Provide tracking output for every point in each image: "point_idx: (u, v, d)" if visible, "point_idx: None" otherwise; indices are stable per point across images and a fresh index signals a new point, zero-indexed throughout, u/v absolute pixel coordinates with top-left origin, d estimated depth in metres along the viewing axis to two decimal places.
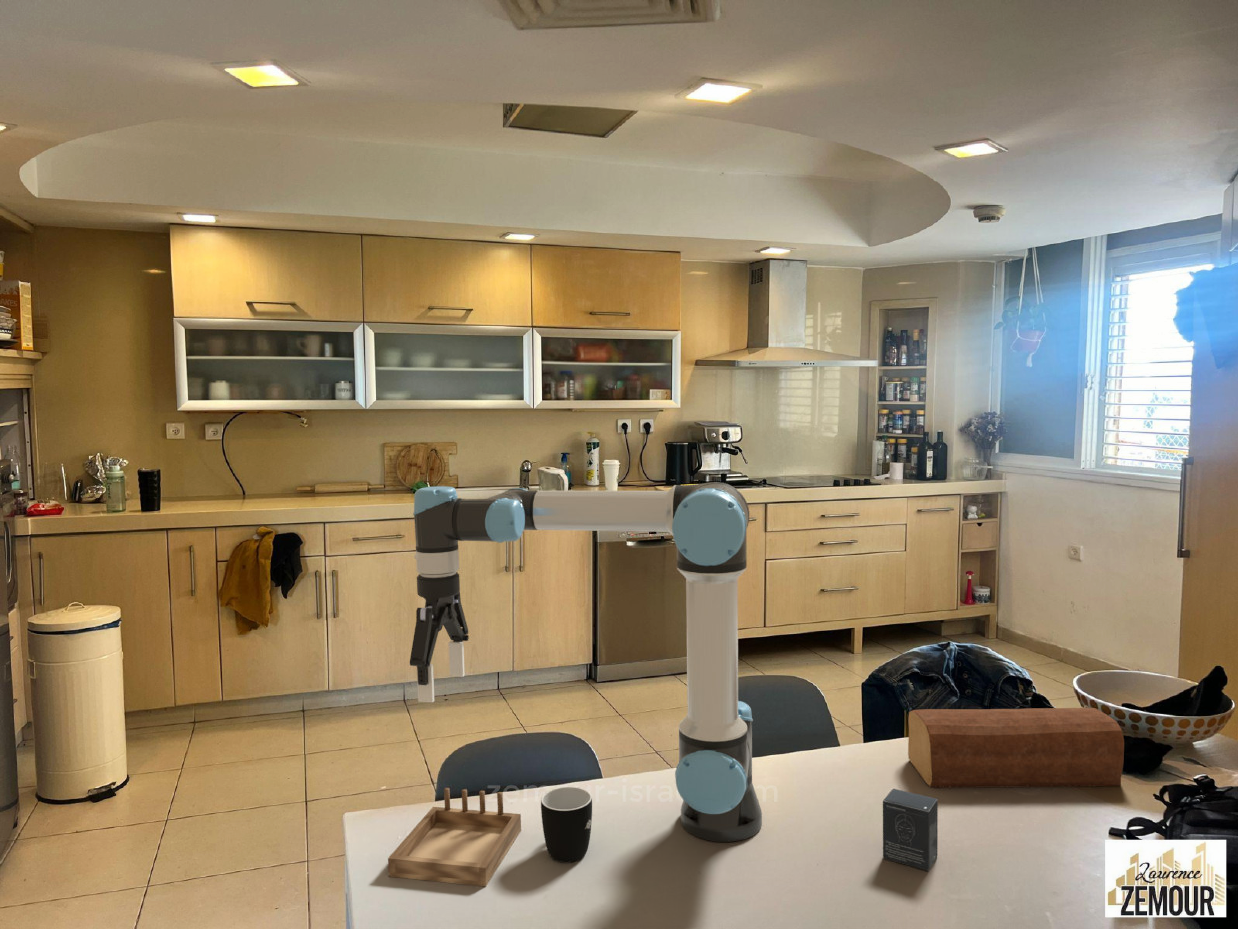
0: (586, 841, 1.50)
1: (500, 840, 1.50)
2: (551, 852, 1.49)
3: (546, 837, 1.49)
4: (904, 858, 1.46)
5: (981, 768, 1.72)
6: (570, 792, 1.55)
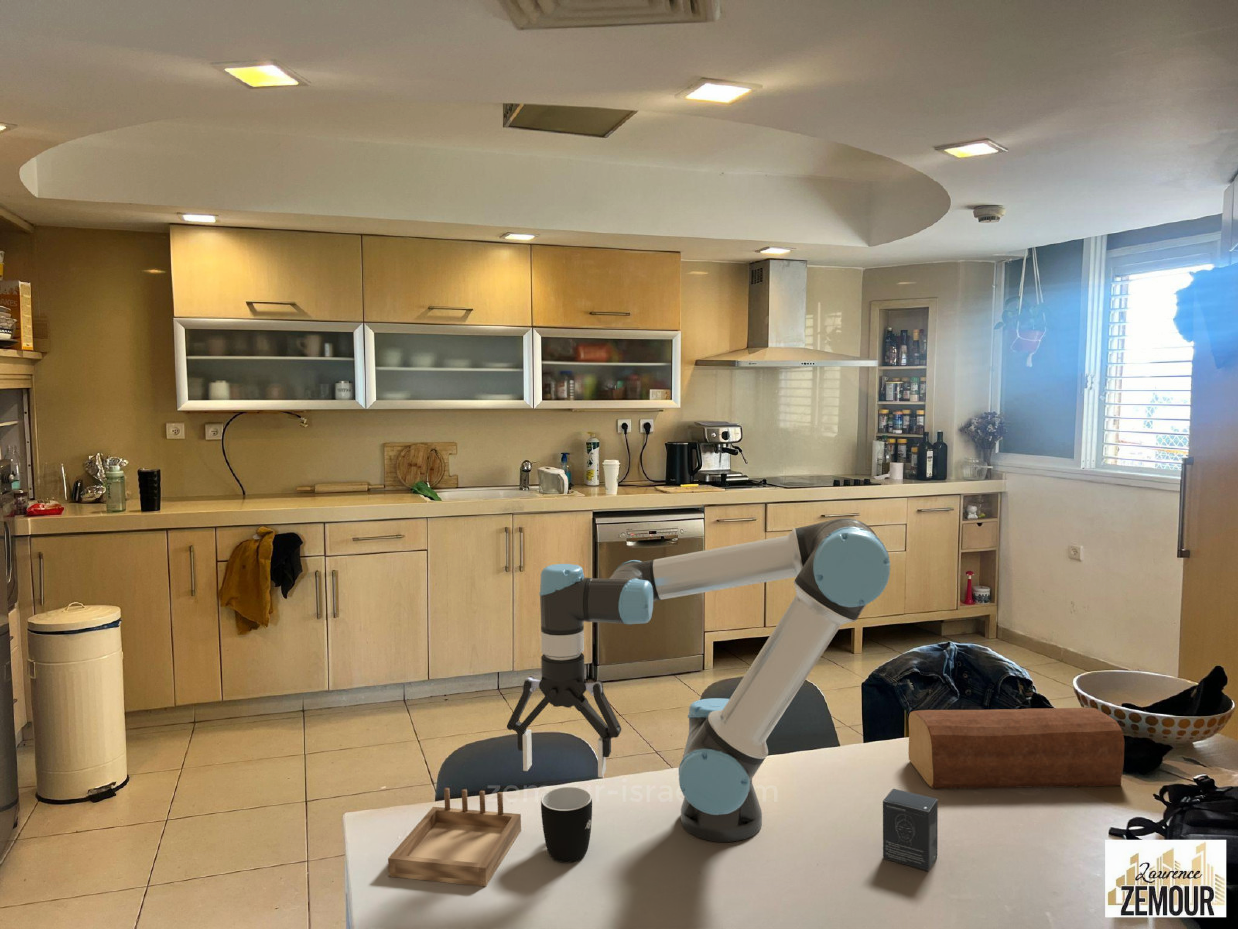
0: (586, 841, 1.50)
1: (500, 840, 1.50)
2: (551, 852, 1.49)
3: (546, 837, 1.49)
4: (904, 858, 1.46)
5: (982, 769, 1.72)
6: (570, 792, 1.55)
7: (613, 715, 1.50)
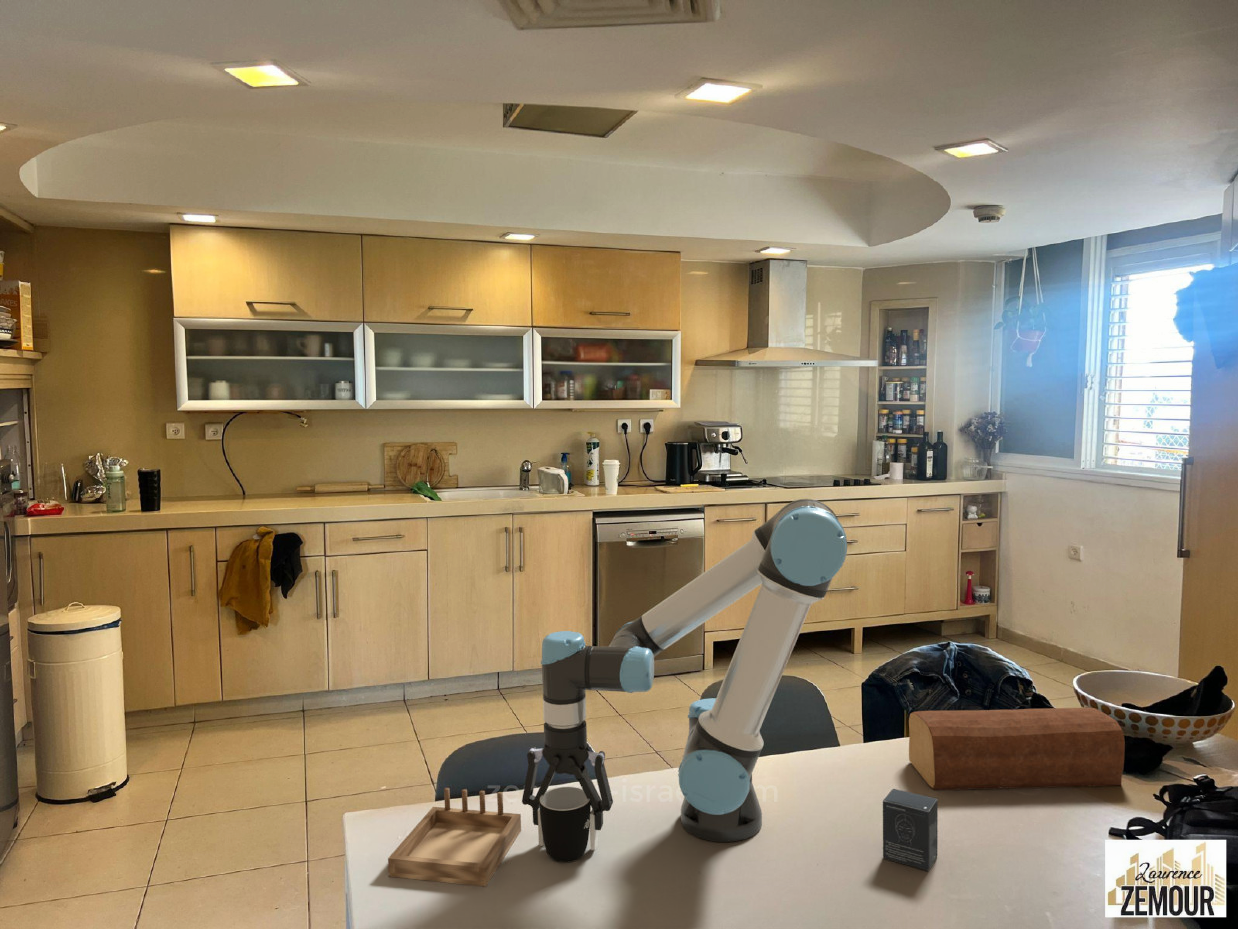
0: (585, 841, 1.50)
1: (500, 840, 1.50)
2: (550, 852, 1.49)
3: (545, 837, 1.49)
4: (904, 858, 1.46)
5: (984, 769, 1.72)
6: (569, 792, 1.55)
7: (608, 788, 1.51)
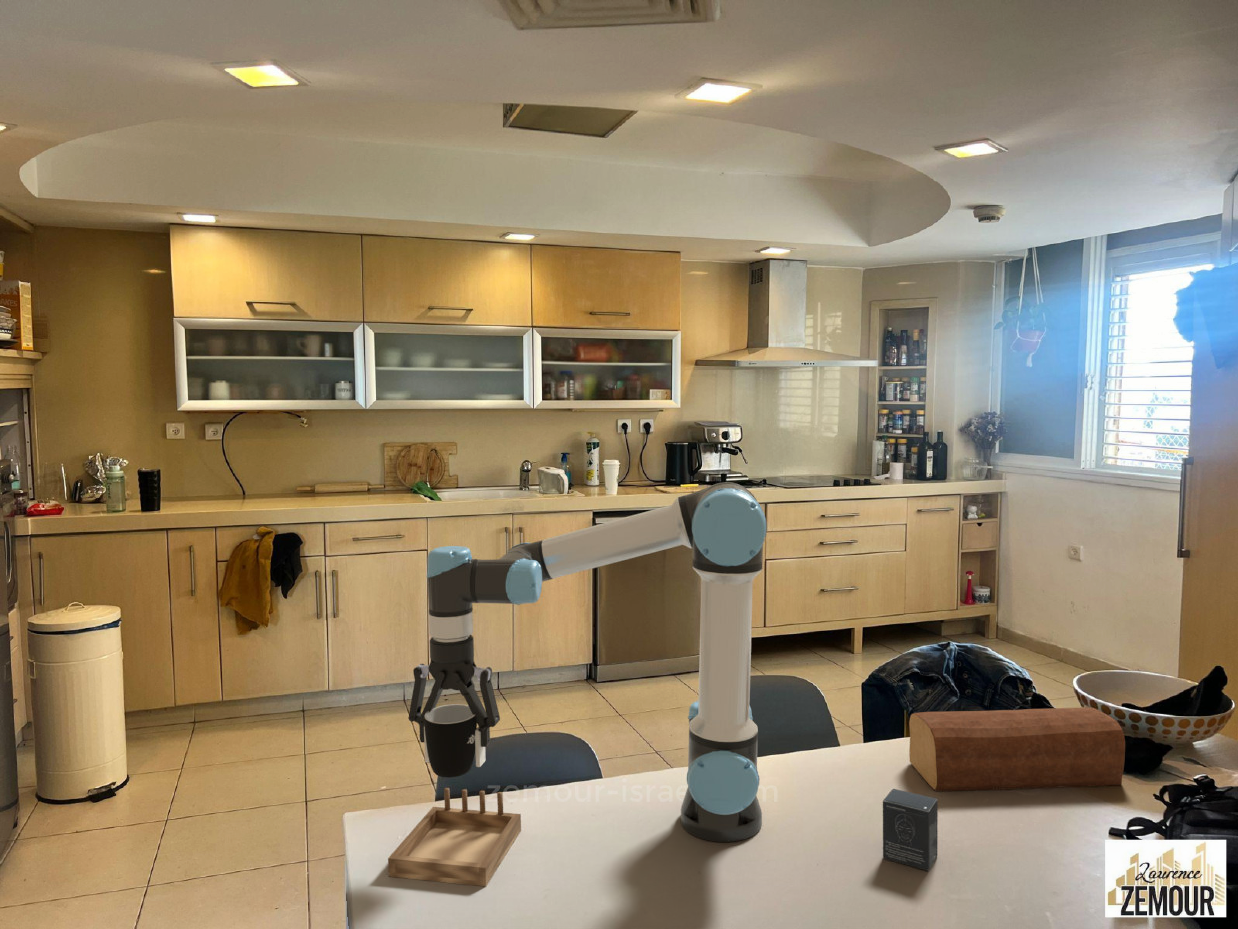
0: (469, 756, 1.48)
1: (500, 840, 1.50)
2: (433, 767, 1.47)
3: (428, 752, 1.48)
4: (904, 858, 1.46)
5: (985, 770, 1.71)
6: (457, 710, 1.53)
7: (495, 704, 1.50)
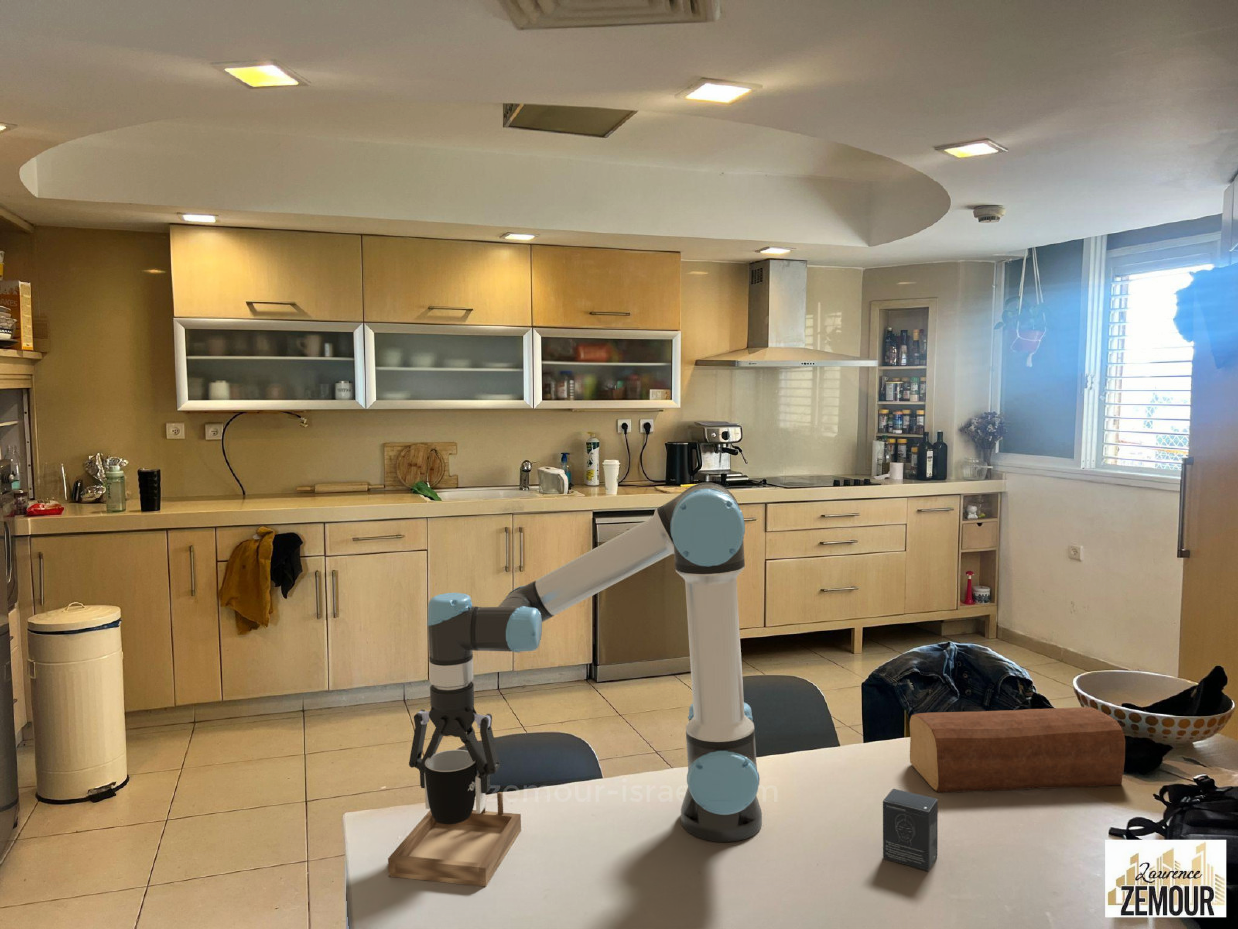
0: (469, 803, 1.49)
1: (500, 840, 1.50)
2: (433, 814, 1.48)
3: (429, 799, 1.48)
4: (904, 858, 1.46)
5: (987, 771, 1.71)
6: (457, 755, 1.54)
7: (495, 751, 1.50)
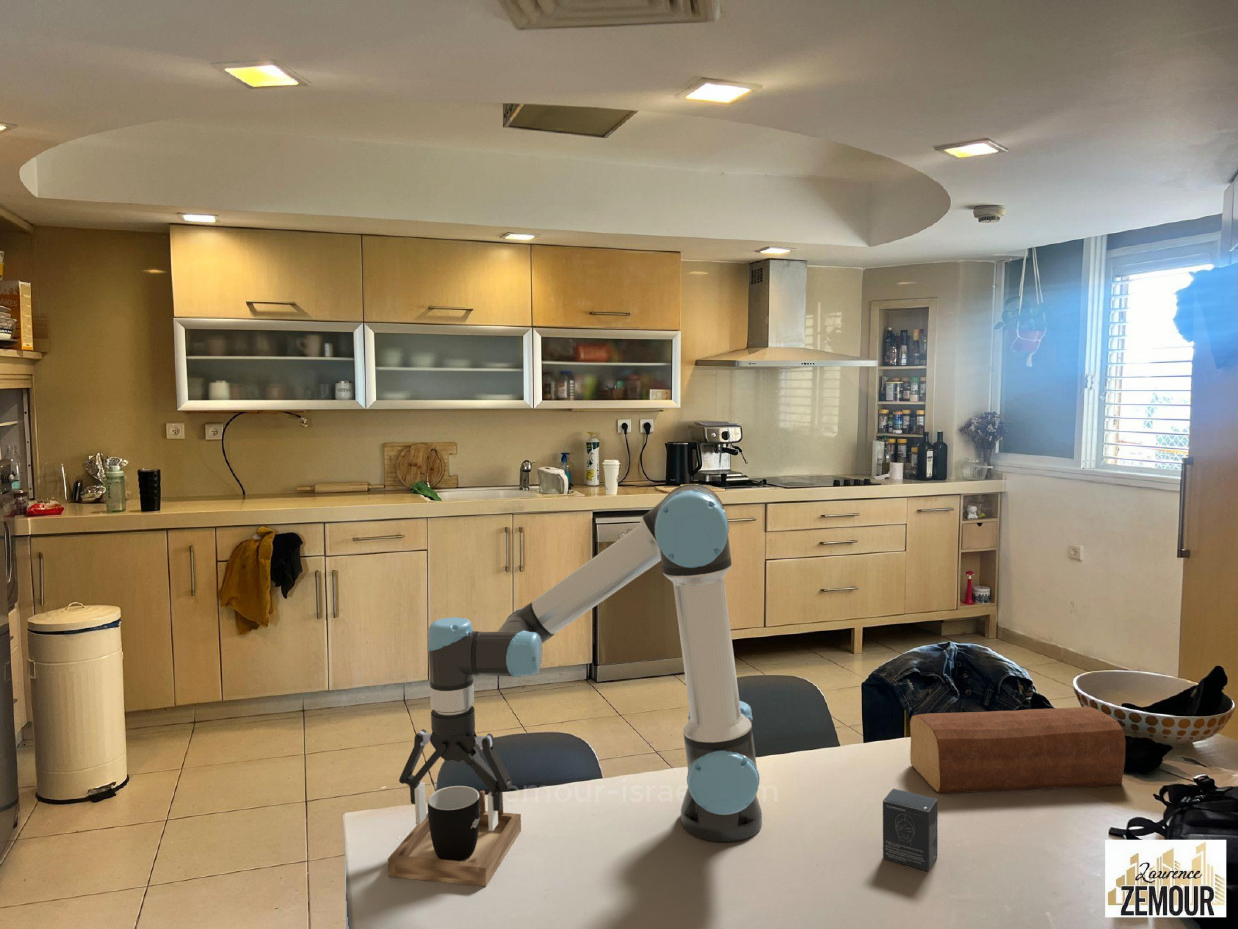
0: (473, 840, 1.49)
1: (500, 840, 1.50)
2: (437, 852, 1.48)
3: (432, 837, 1.49)
4: (904, 858, 1.46)
5: (988, 772, 1.70)
6: (460, 791, 1.54)
7: (503, 769, 1.50)
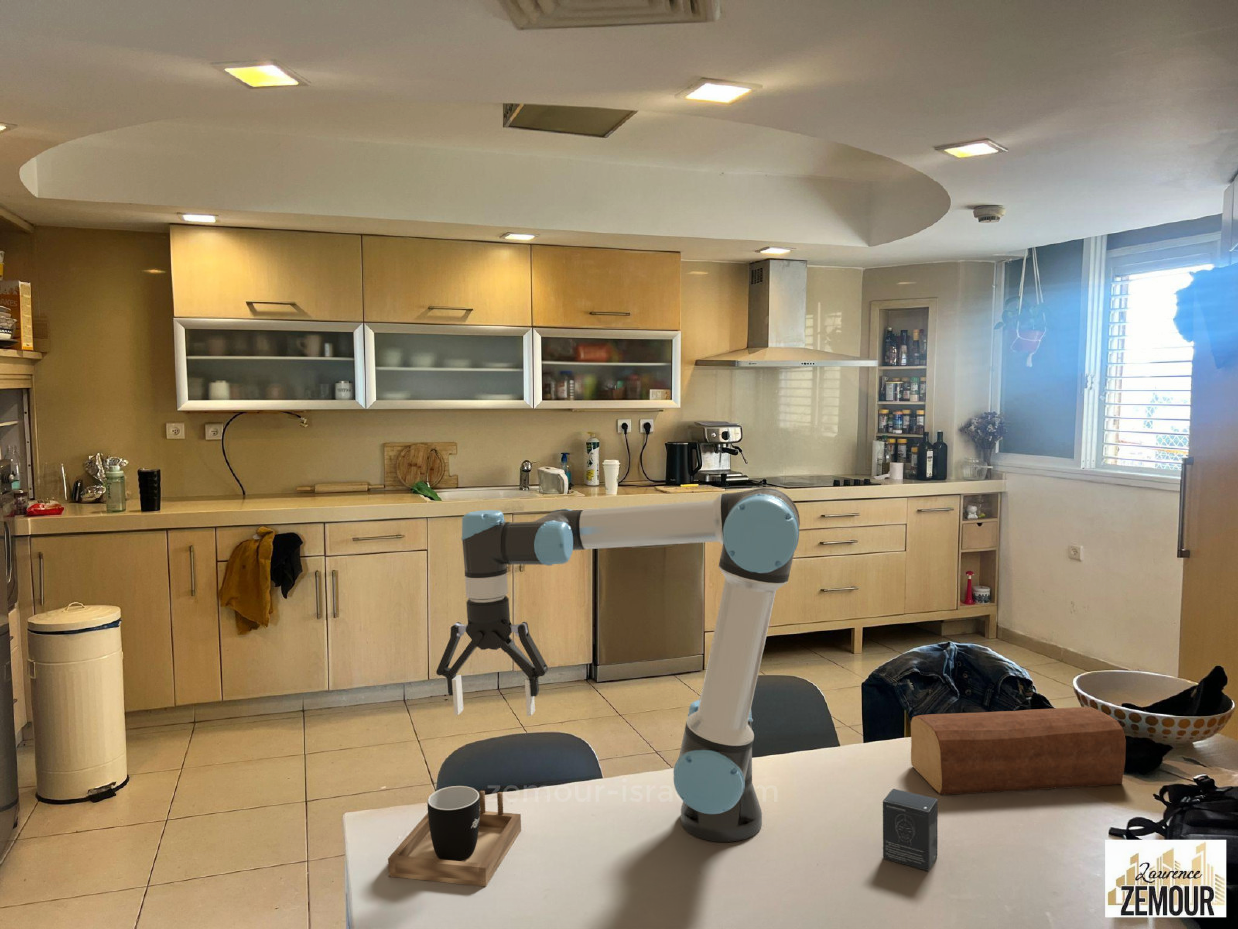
0: (473, 840, 1.49)
1: (500, 840, 1.50)
2: (437, 852, 1.48)
3: (432, 837, 1.49)
4: (904, 858, 1.46)
5: (990, 773, 1.70)
6: (460, 791, 1.54)
7: (539, 655, 1.54)
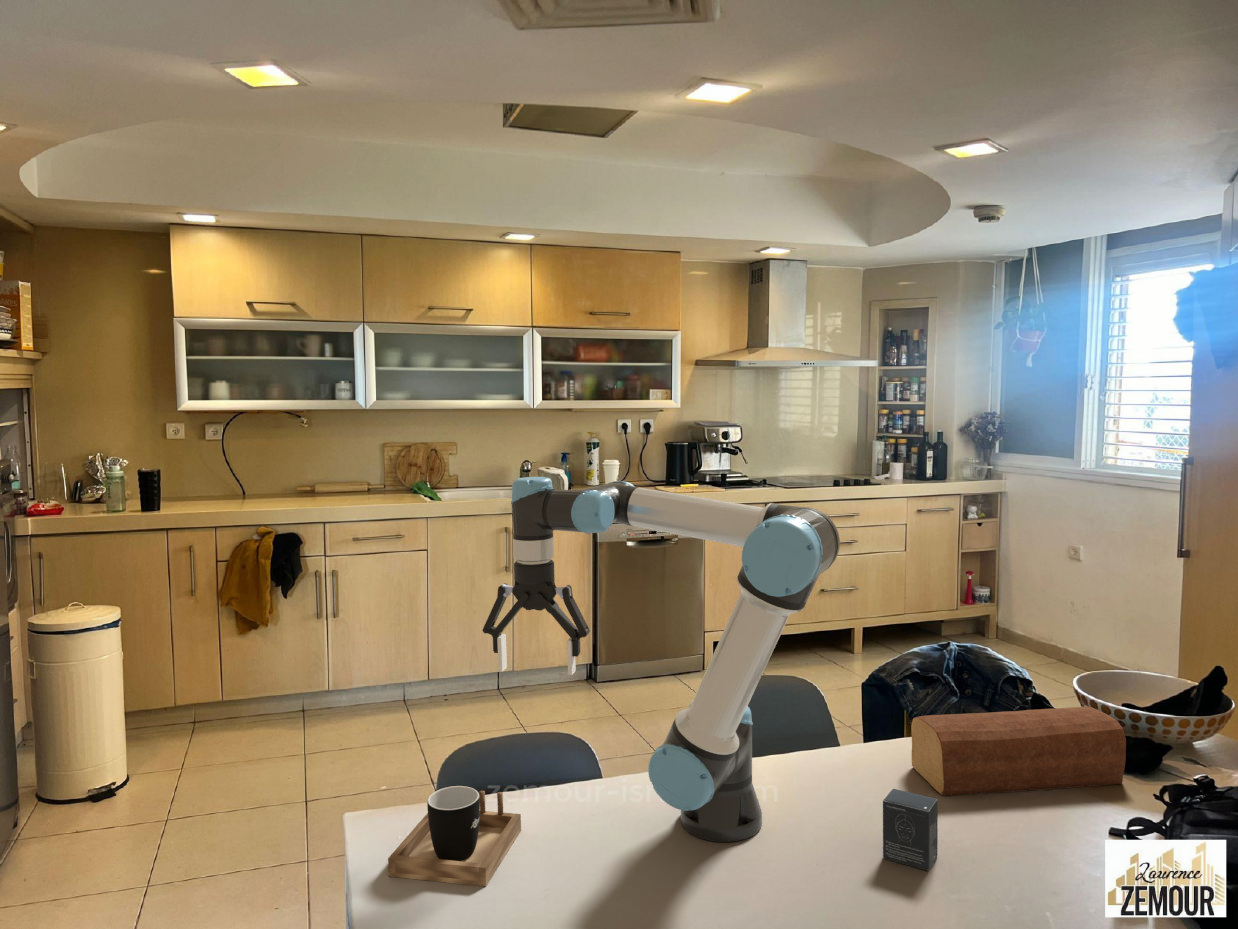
0: (473, 840, 1.49)
1: (500, 840, 1.50)
2: (437, 852, 1.48)
3: (432, 837, 1.49)
4: (904, 858, 1.46)
5: (991, 773, 1.70)
6: (460, 791, 1.54)
7: (582, 617, 1.60)
